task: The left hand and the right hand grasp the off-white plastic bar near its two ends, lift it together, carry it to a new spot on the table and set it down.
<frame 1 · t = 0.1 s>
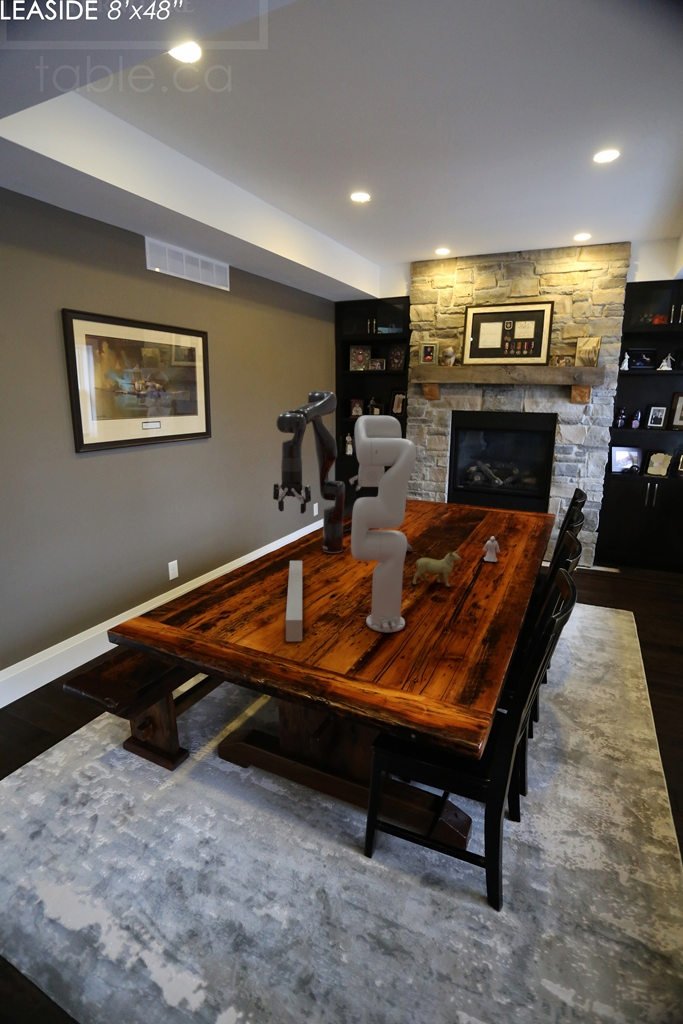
left hand: (292, 512, 186), 29 cm above the table, tool pointing down, fingers open, 8 cm apart
right hand: (370, 500, 199), 31 cm above the table, tool pointing down, fingers open, 9 cm apart
seashell: (402, 552, 234), on the table
toy: (435, 585, 196), on the table
bar: (295, 604, 176), on the table
figurine: (490, 560, 225), on the table
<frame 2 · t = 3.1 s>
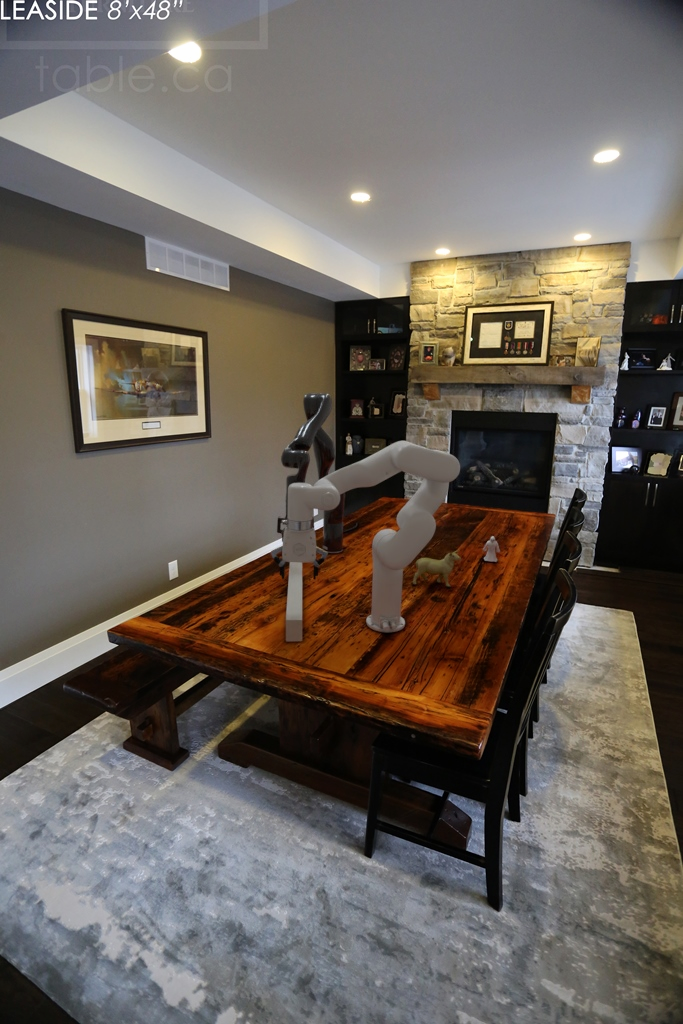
left hand: (295, 543, 193), 16 cm above the table, tool pointing down, fingers open, 8 cm apart
right hand: (298, 577, 154), 17 cm above the table, tool pointing down, fingers open, 9 cm apart
nothing on the table moved.
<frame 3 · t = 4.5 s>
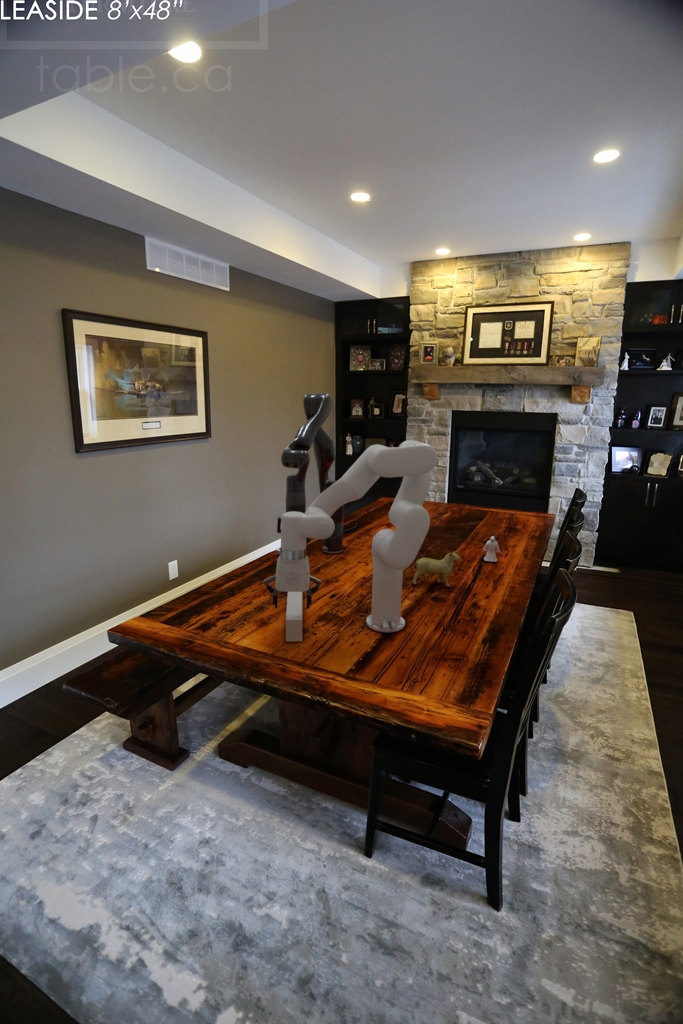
left hand: (295, 543, 193), 16 cm above the table, tool pointing down, fingers open, 8 cm apart
right hand: (292, 606, 153), 9 cm above the table, tool pointing down, fingers open, 9 cm apart
nothing on the table moved.
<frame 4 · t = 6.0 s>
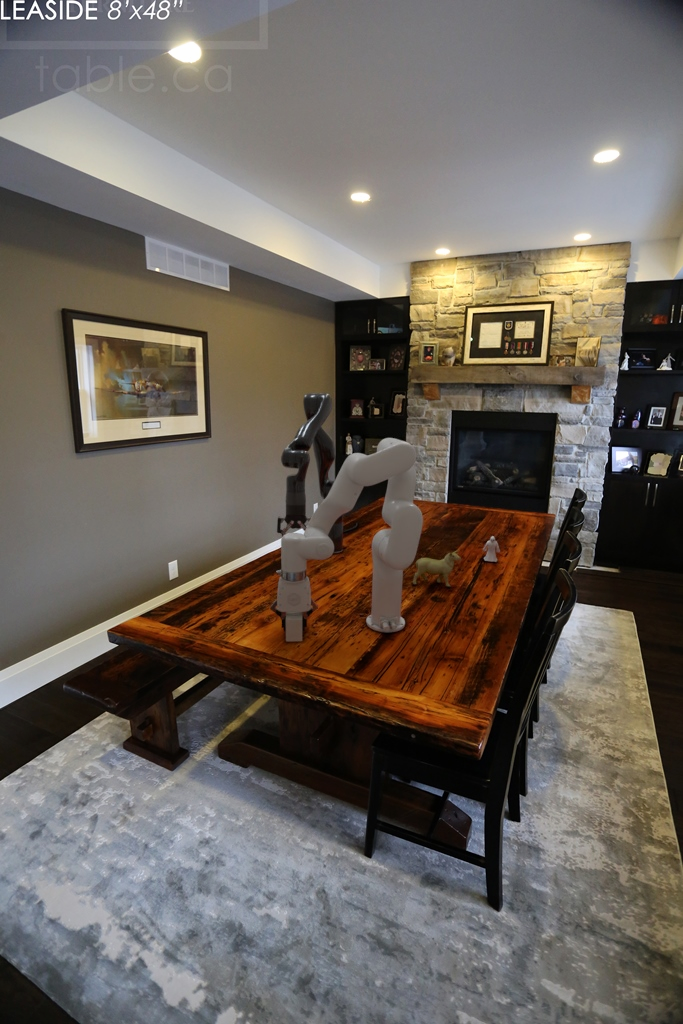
left hand: (295, 543, 193), 16 cm above the table, tool pointing down, fingers open, 8 cm apart
right hand: (294, 628, 155), 2 cm above the table, tool pointing down, fingers closed on bar, 5 cm apart
bar: (295, 604, 176), on the table, touching right hand
everything else where it was.
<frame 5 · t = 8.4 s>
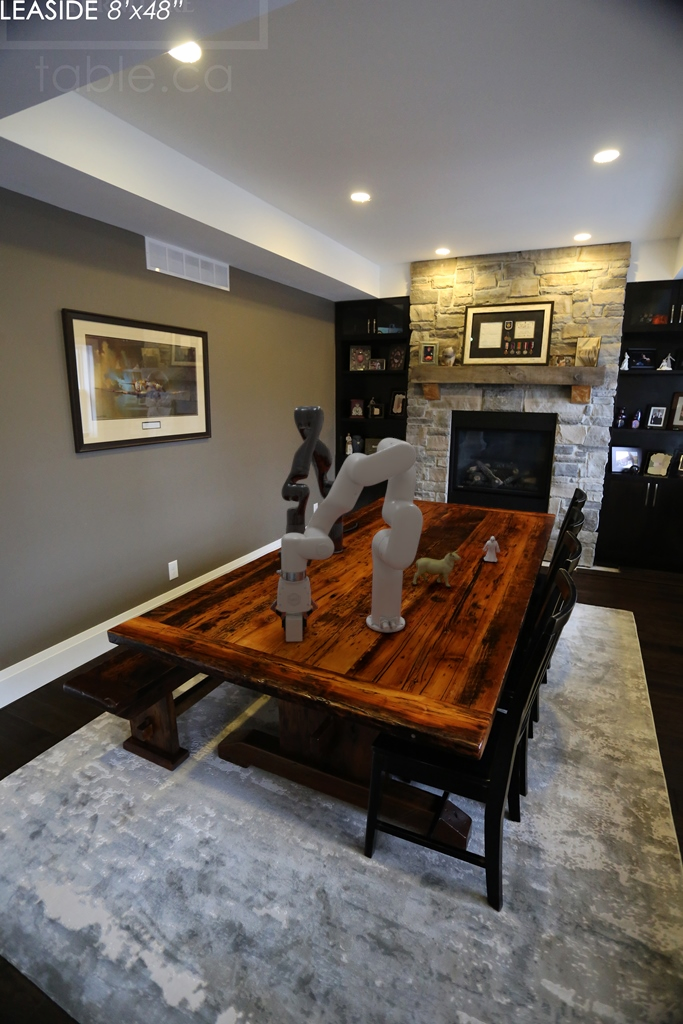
left hand: (295, 575, 196), 2 cm above the table, tool pointing down, fingers closed on bar, 5 cm apart
right hand: (294, 628, 155), 2 cm above the table, tool pointing down, fingers closed on bar, 5 cm apart
bar: (295, 604, 176), on the table, touching right hand, left hand
everything else where it was.
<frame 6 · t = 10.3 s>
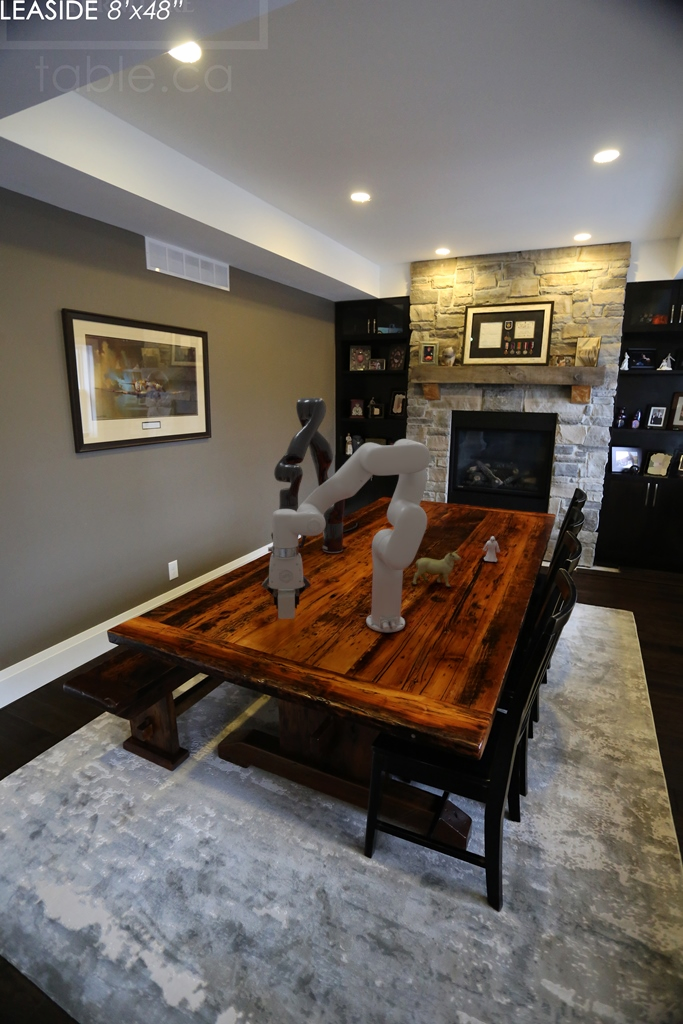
left hand: (289, 557, 195), 10 cm above the table, tool pointing down, fingers closed on bar, 5 cm apart
right hand: (286, 606, 153), 9 cm above the table, tool pointing down, fingers closed on bar, 5 cm apart
bar: (288, 584, 174), point 7 cm above the table, touching right hand, left hand
everything else where it was.
when the left hand's fingers open (3 cm above the table, at t = 12.4 s): bar drops 1 cm, on the table.
when the right hand's fingers open (3 cm above the table, at t = 12.4 s): bar drops 1 cm, on the table.
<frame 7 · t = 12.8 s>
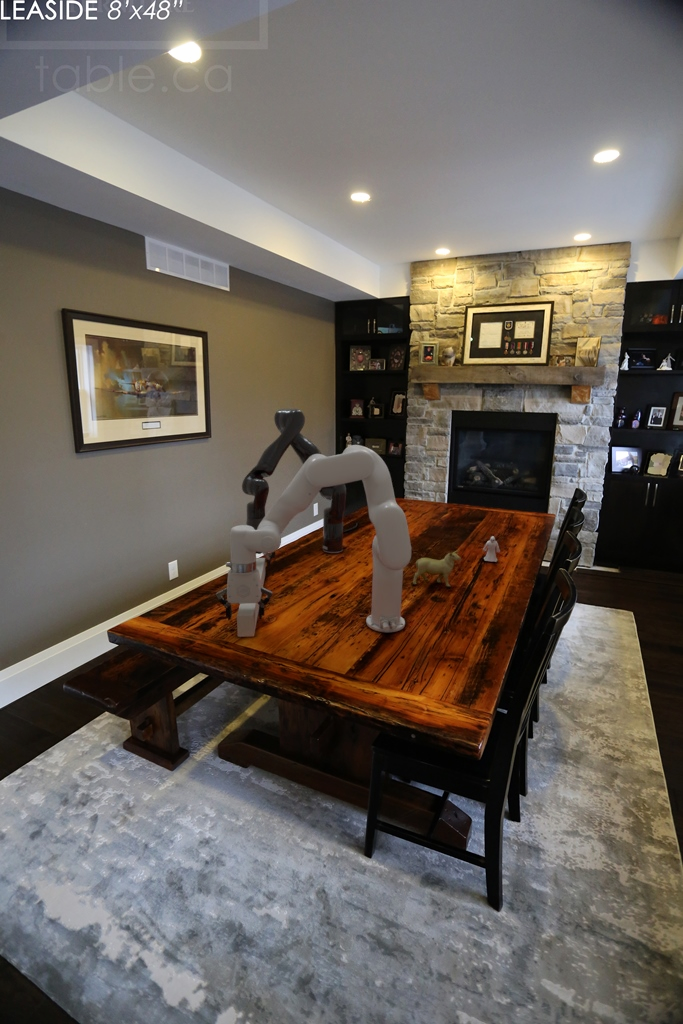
left hand: (257, 567, 198), 5 cm above the table, tool pointing down, fingers open, 8 cm apart
right hand: (245, 617, 156), 4 cm above the table, tool pointing down, fingers open, 9 cm apart
bar: (253, 601, 178), on the table
everything else where it was.
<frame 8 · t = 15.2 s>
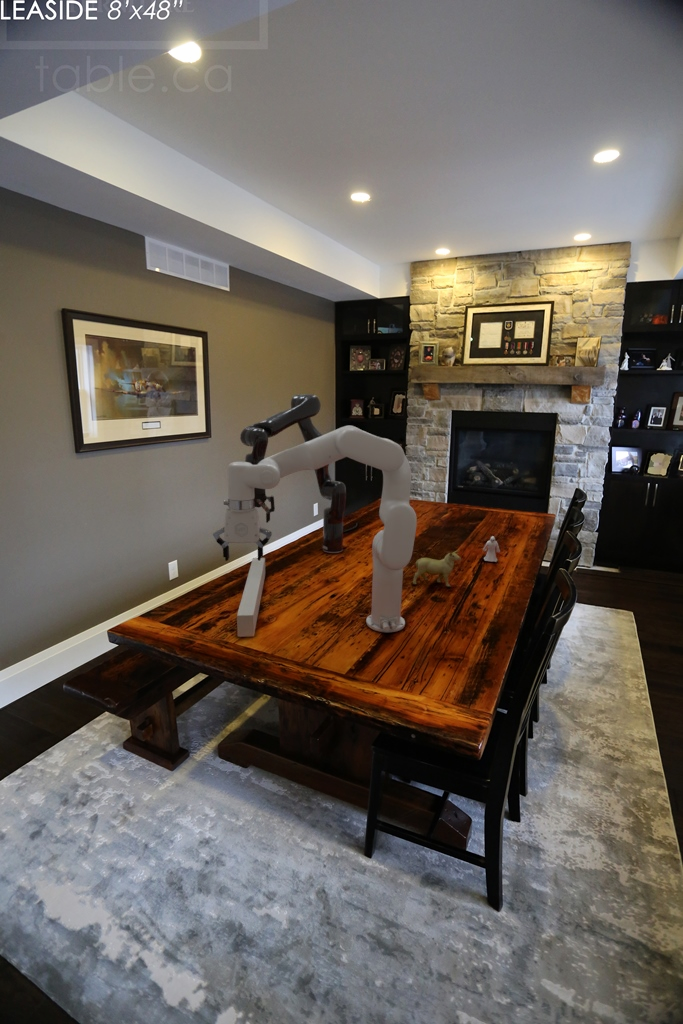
left hand: (256, 522, 193), 23 cm above the table, tool pointing down, fingers open, 8 cm apart
right hand: (243, 559, 151), 24 cm above the table, tool pointing down, fingers open, 9 cm apart
nothing on the table moved.
at the end: bar inside the target area (0.4 cm from its centre), on the table; bar tilted 0°; bar never tilted more than 2° during the clip; both hands held the bar at the same time; the left hand is holding nothing; the right hand is holding nothing; bar at rest at the end (0.0 cm/s) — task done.
